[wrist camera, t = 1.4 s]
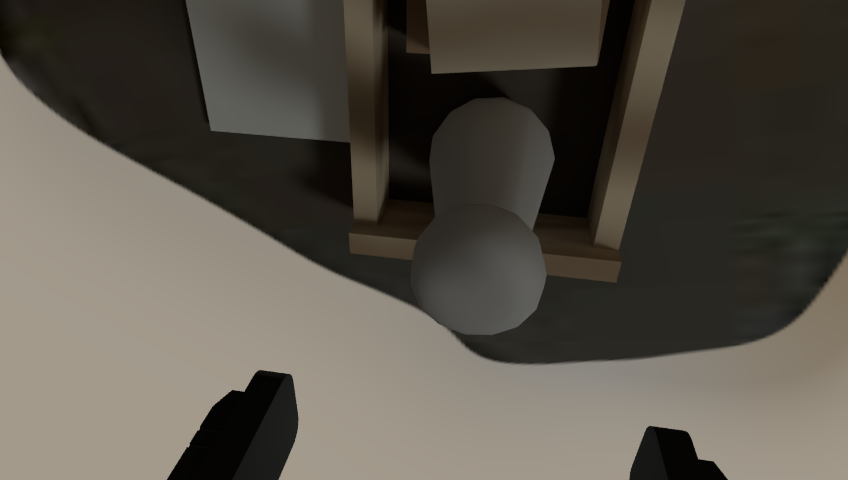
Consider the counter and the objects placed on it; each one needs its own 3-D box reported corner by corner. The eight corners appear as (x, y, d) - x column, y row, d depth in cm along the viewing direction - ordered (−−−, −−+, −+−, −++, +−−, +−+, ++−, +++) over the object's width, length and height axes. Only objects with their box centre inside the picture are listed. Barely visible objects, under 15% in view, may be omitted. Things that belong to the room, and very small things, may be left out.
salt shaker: (560, 179, 27) (588, 356, 16) (455, 202, 29) (416, 376, 18) (537, 68, 25) (551, 192, 14) (421, 100, 26) (353, 234, 15)
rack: (359, -83, 22) (331, -82, 19) (682, -71, 21) (712, -68, 18) (368, 215, 30) (350, 253, 27) (604, 239, 29) (616, 282, 25)
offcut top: (434, -51, 20) (422, -46, 18) (596, -66, 19) (607, -63, 17) (441, 55, 22) (431, 73, 20) (587, 47, 21) (596, 65, 19)
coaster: (185, -39, 25) (178, -38, 24) (352, -31, 24) (348, -30, 23) (216, 126, 29) (211, 130, 28) (359, 138, 28) (356, 142, 27)
